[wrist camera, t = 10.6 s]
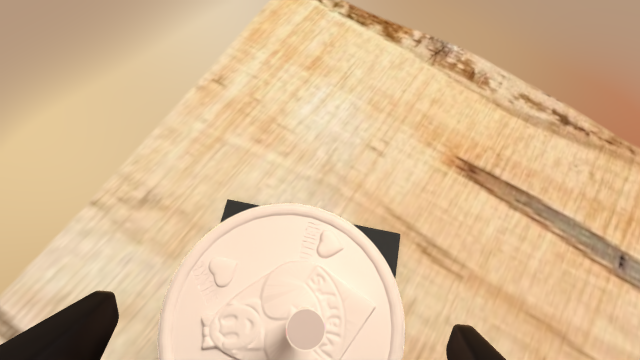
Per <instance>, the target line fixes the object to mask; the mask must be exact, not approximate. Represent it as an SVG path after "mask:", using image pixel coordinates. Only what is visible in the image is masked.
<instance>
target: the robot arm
mask: <svg viewBox="0 0 640 360" xmlns="http://www.w3.org/2000/svg"><path fill="white" fill-rule="evenodd" d="M118 319H119V313H118V308H117V303H116V298H115V295H114V293H113V292H109V291H95V292H93V293H91V294H89V295H88V296H86V297H84V298H82V299H81V300H79V301H77V302H75V303H73V304H72V305H70V306H68V307H66V308H65V309H63V310H61V311H59V312H58V313H56V314H54V315H52V316H51V317H49V318H47V319H45V320H44V321H42V322H40V323H38V324H36V325H35V326H33V327H31V328H29V329H28V330H26V331H24V332H22V333H21V334H19V335H17V336H15V337H14V338H12V339H10V340H8V341H7V342H5V343H3V344H1V345H0V360H100V359H101V357H102V355H103V353H104V351H105V348H106V346H107V344H108V342H109V340H110V338H111V336H112V334H113V332H114V330H115V328H116V325H117V323H118ZM446 353H447V359H448V360H506V359H505V358H504V357H503V356H502V355H501V354H500V353H499V352H498V351H497V350H496V349H495V348H494V347H493V346H492V345H491V344H490V343H489V342H488V341H487V340H486V339H484V338H483V337H482V336H481V335H480V334H479V333H478V332H477V331H476V330H475V329H474V328H473V327H472V326H469V325H460V324H456V325H455V326H454V327H453V329H452V332H451V335H450V338H449V341H448V344H447V348H446Z"/></svg>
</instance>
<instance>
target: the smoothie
mask: <svg viewBox="0 0 640 360" xmlns="http://www.w3.org/2000/svg"><path fill="white" fill-rule="evenodd" d="M157 342H158V358H159V360H402V359H403V353H404V344H405V320H404V311H403V305H402V300H401V296H400V292H399V289H398V286H397V283H396V281H395V278H394V276H393V274H392V272H391V269H390V267H389V266H388V264H387V262H386V260H385V259H384V257H383V256H382V254H381V253H380V251H379V250H378V249H377V248H376V246H375V245H374V244H373V243H372V242H371V240H370V239H369V238H368V237H367V236H366V235H365V234H364V233H362V232H361V231H360V230H359V229H358V228H356V227H355V226H354V225H352V224H351V223H349V222H348V221H346V220H345V219H343V218H341V217H339V216H338V215H336V214H334V213H331V212H329V211H326V210H324V209H321V208H317V207H314V206H309V205H304V204H296V203H277V204H268V205H262V206H258V207H255V208H251V209H248V210H245V211H243V212H240V213H238V214H236V215H234V216H232V217H230V218H228V219H226V220H225V221H223V222H221V223H220V224H218V225H217V226H215V227H214V228H213V229H211V230H210V231H209V232H208V233H207V234H205V235H204V236H203V237H202V238H201V239H200V240H199V241H198V242H197V243H196V244H195V245H194V246H193V247H192V249H191V250H190V251H189V252H188V254H187V255H186V256H185V258H184V259H183V261H182V262H181V264H180V265H179V267H178V268H177V270H176V272H175V274H174V276H173V278H172V280H171V282H170V284H169V287H168V289H167V292H166V295H165V298H164V301H163V305H162V309H161V313H160V319H159V325H158V339H157Z"/></svg>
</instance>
